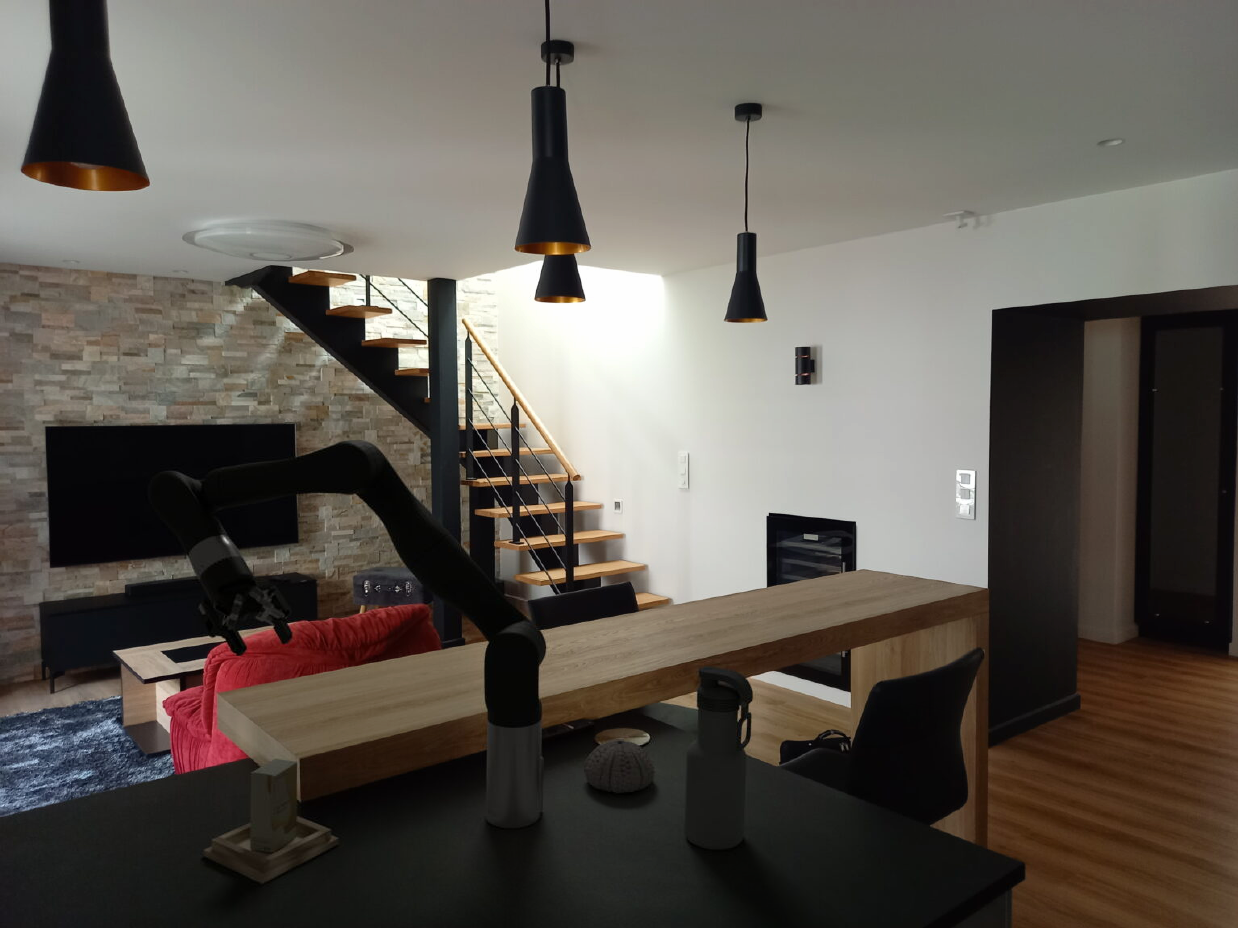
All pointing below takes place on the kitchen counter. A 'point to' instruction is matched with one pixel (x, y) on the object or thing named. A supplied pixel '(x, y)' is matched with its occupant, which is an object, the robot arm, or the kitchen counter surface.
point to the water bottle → (718, 761)
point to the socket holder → (268, 865)
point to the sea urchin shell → (619, 767)
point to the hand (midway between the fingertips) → (266, 646)
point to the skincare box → (273, 805)
